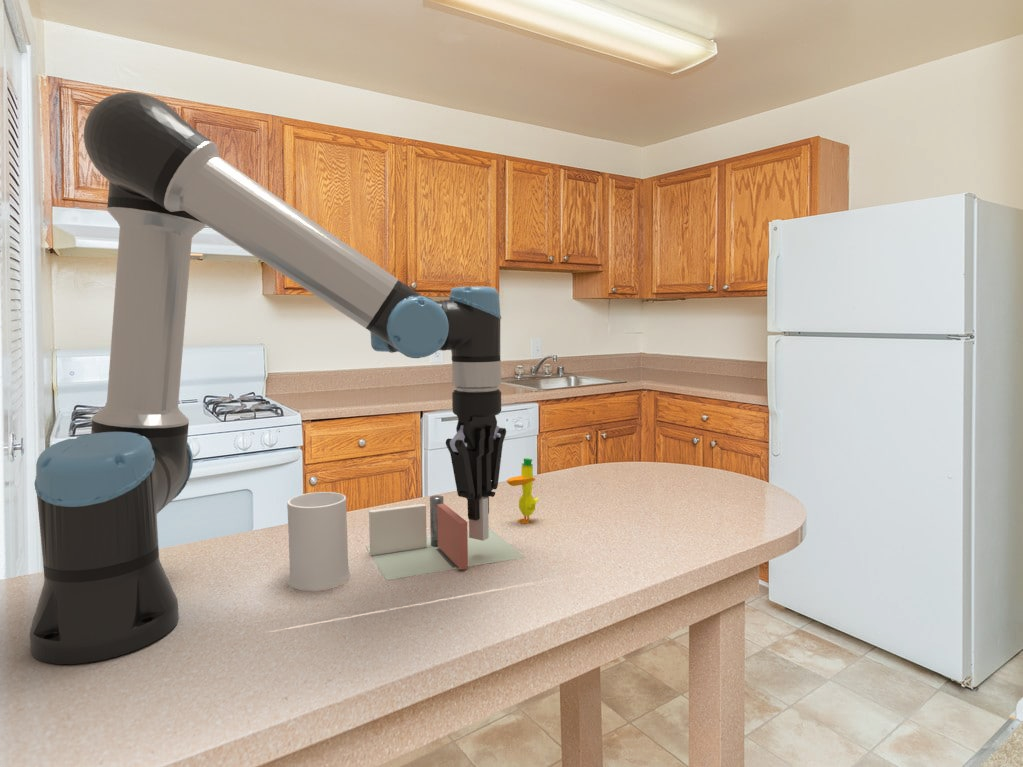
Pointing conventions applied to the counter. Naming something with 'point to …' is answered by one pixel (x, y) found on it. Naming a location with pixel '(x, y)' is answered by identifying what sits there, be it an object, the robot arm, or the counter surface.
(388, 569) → the card
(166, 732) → the counter surface
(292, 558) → the mug
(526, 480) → the toy figure
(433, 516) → the post
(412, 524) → the fixed panel
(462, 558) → the red panel
